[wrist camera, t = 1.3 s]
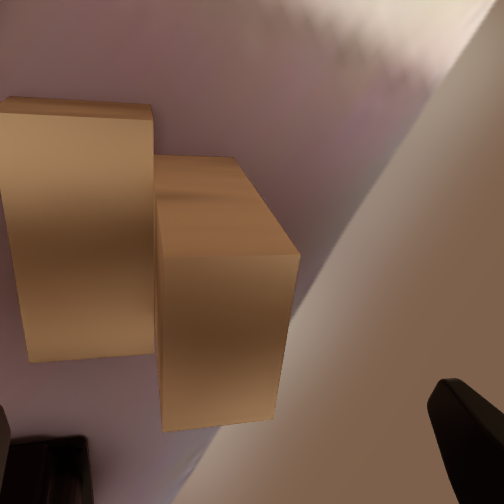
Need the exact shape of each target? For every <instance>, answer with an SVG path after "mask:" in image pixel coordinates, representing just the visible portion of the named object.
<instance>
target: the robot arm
mask: <svg viewBox="0 0 504 504" xmlns="http://www.w3.org/2000/svg"><path fill="white" fill-rule="evenodd" d="M427 409H428V414H429V417H430V420H431V424H432V427H433V430H434V433H435V437H436V440H437V443H438V446H439V449H440V452H441V456H442V459H443V462H444V465H445V469H446V471H447V474H448V477H449V480H450V482H451V485H452V488H453V490H454V493H455V495H456V497H457V500H458V502H459V504H504V414H503V413H502V412H501V411H500V410H498V409H497V408H496V407H495V406H493V405H492V404H491V403H489V402H488V401H487V400H486V399H484V398H483V397H482V396H481V395H480V394H478V393H477V392H476V391H475V390H473V389H472V388H471V387H470V386H468V385H467V384H466V383H465V382H463V381H462V380H460V379H457V378H449V379H441V380H440V381H439V382H438V383H437V385H436V387H435V389H434V390H433V392H432V394H431V396H430V397H429V399H428V402H427ZM9 443H10V427H9V424H8V421H7V418H6V415H5V412H4V409H3V407H2V406H1V405H0V504H94V499H93V490H92V480H91V470H90V460H89V450H88V442H87V440H86V439H85V438H81V437H77V438H69V439H60V440H52V441H44V442H35V443H27V444H19V445H10V446H9Z"/></svg>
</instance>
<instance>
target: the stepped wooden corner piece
mask: <svg viewBox="0 0 504 504" xmlns="http://www.w3.org/2000/svg"><path fill="white" fill-rule="evenodd" d="M0 191H1V197H2V203H3V209H4V215H5V221H6V227H7V233H8V239H9V245H10V251H11V257H12V263H13V269H14V275H15V281H16V287H17V293H18V299H19V305H20V311H21V317H22V323H23V329H24V335H25V341H26V347H27V353H28V359H29V363H38V362H51V361H64V360H77V359H90V358H103V357H117V356H130V355H143V354H154V323H155V337H156V351H157V365H158V379H159V393H160V407H161V421H162V433H164V432H172V431H180V430H189V429H197V428H205V427H214V426H222V425H230V424H239V423H247V422H255V421H264V420H272V419H273V417H274V411H275V405H276V399H277V393H278V387H279V381H280V375H281V369H282V363H283V357H284V351H285V345H286V339H287V333H288V327H289V321H290V315H291V309H292V303H293V297H294V291H295V285H296V279H297V273H298V267H299V261H300V253H299V252H298V250H297V249H296V247H295V246H294V244H293V243H292V241H291V240H290V239H289V237H288V236H287V234H286V233H285V231H284V230H283V228H282V227H281V226H280V224H279V223H278V221H277V220H276V218H275V217H274V215H273V214H272V212H271V211H270V210H269V208H268V207H267V205H266V204H265V202H264V201H263V199H262V198H261V197H260V195H259V194H258V192H257V191H256V189H255V188H254V186H253V185H252V184H251V182H250V181H249V179H248V178H247V176H246V175H245V173H244V172H243V170H242V169H241V168H240V166H239V165H238V163H237V162H236V160H235V159H234V157H208V156H178V155H154V136H153V116H152V111H151V105H150V104H133V103H116V102H99V101H82V100H65V99H48V98H31V97H14V96H10V97H8V98H7V99H5V100H4V101H2V102H1V103H0Z"/></svg>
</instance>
